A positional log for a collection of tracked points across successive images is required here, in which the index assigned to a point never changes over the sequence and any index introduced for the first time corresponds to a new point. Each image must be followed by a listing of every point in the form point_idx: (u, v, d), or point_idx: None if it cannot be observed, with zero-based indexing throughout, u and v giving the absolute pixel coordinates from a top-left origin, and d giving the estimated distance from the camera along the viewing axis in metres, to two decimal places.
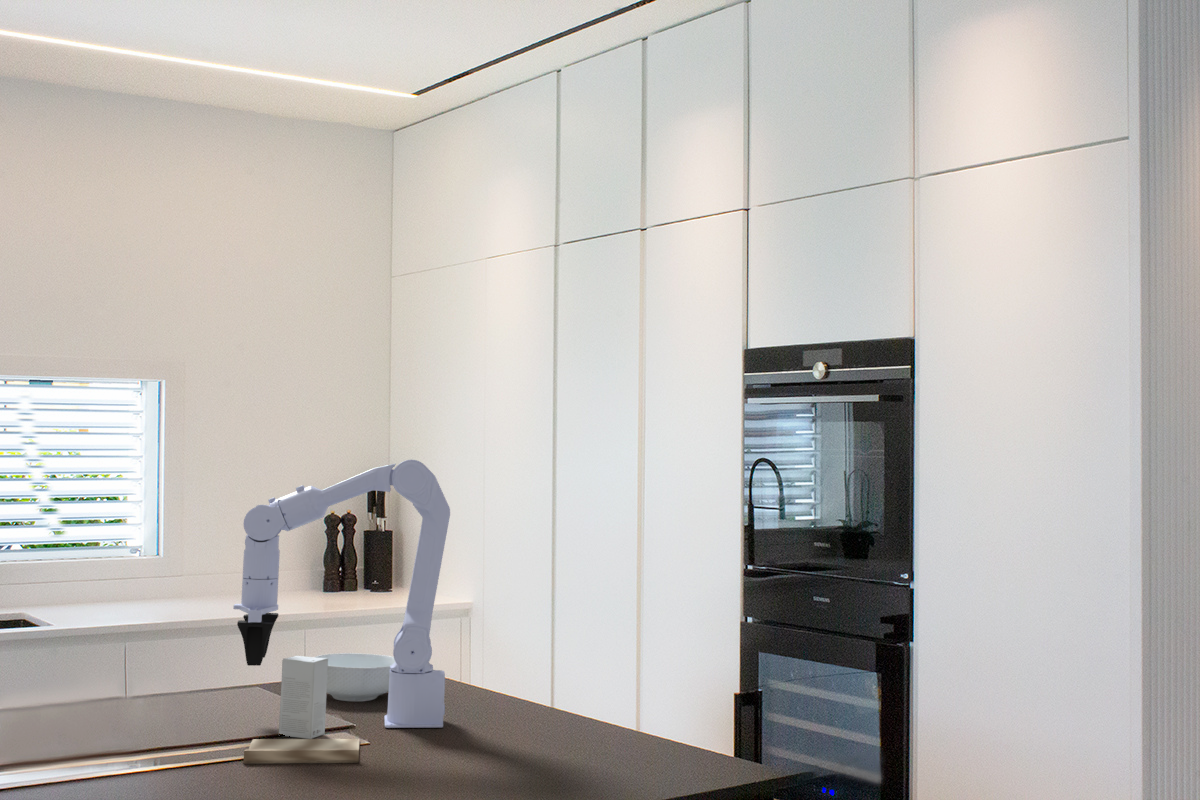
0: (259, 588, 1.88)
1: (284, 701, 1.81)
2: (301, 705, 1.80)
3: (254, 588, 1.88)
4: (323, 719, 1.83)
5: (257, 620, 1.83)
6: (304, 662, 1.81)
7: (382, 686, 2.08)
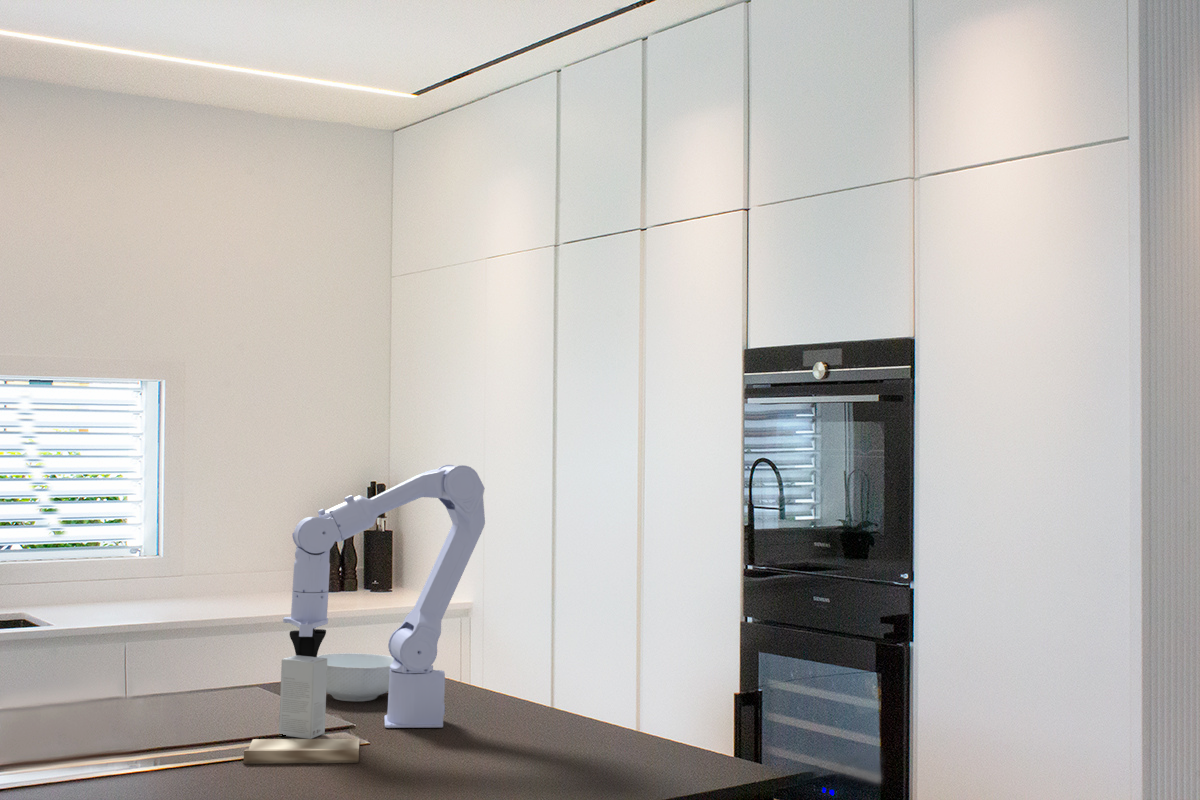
0: (310, 601, 1.85)
1: (284, 701, 1.81)
2: (301, 705, 1.80)
3: (305, 602, 1.85)
4: (323, 719, 1.83)
5: (308, 634, 1.81)
6: (303, 662, 1.80)
7: (382, 686, 2.08)
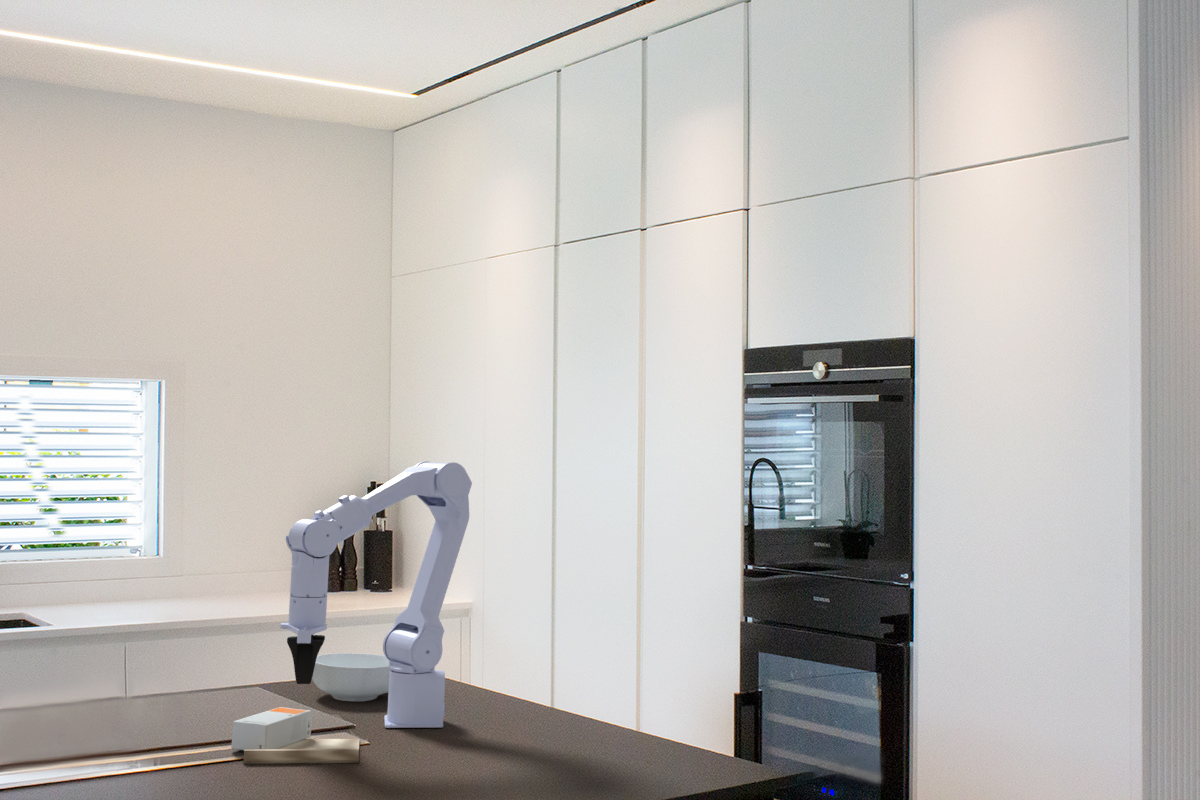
0: (308, 606, 1.79)
1: None
2: None
3: (302, 607, 1.79)
4: (303, 717, 1.77)
5: (306, 641, 1.74)
6: None
7: (382, 686, 2.08)
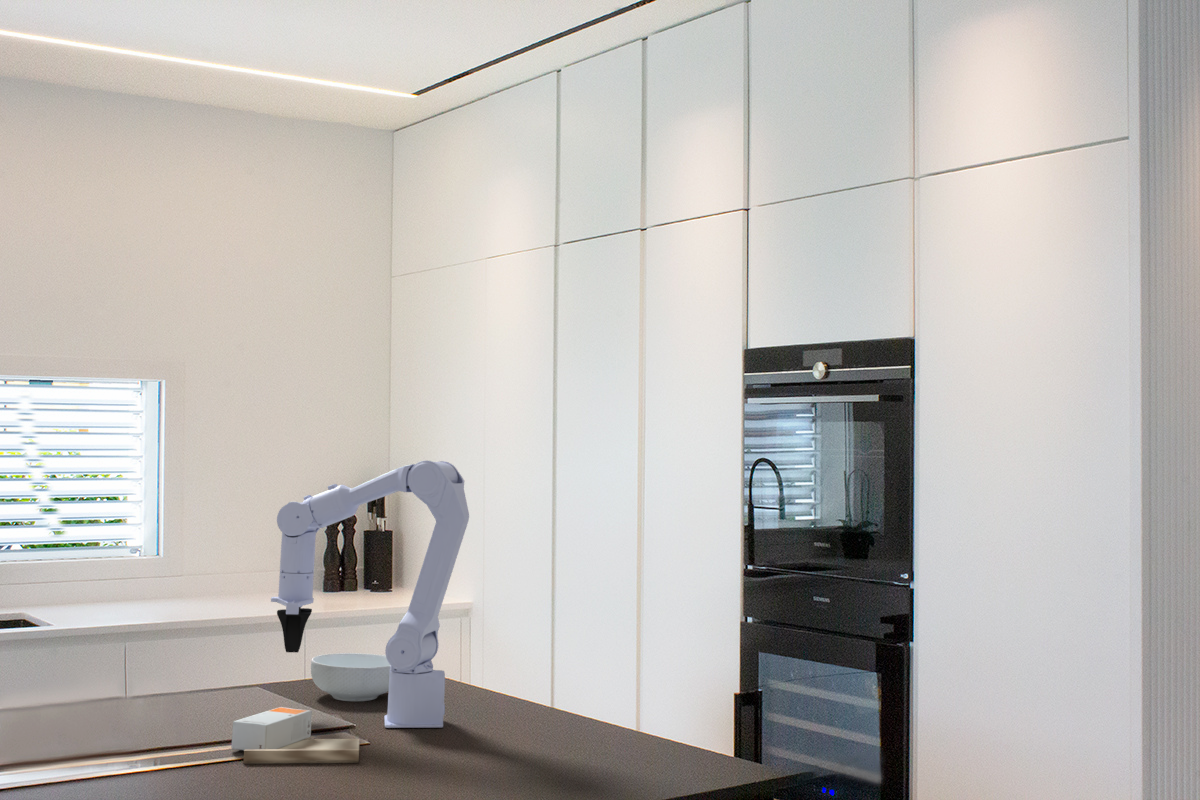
0: (296, 581, 1.96)
1: None
2: None
3: (291, 582, 1.96)
4: (303, 717, 1.77)
5: (294, 612, 1.91)
6: None
7: (382, 686, 2.08)
